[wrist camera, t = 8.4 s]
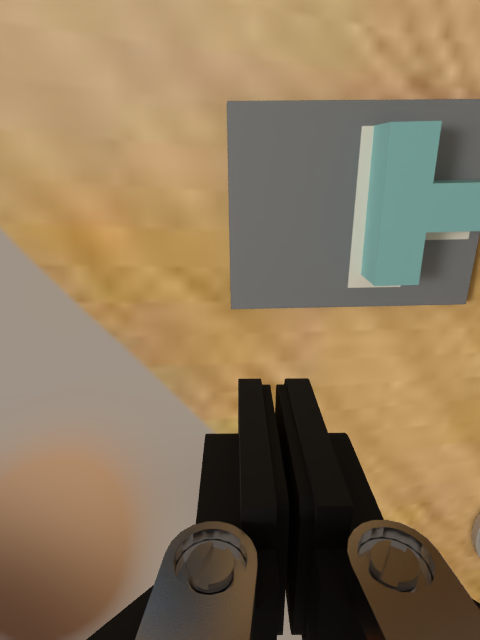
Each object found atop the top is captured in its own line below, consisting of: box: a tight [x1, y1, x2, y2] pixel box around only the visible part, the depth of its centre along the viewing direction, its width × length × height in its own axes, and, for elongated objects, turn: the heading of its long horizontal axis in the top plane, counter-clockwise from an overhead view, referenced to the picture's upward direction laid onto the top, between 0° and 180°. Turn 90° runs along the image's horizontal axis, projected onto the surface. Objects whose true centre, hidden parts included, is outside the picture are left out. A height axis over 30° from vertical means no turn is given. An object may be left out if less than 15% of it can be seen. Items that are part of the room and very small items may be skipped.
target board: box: [227, 99, 480, 309], centre depth 29 cm, size 14×18×1 cm
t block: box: [361, 121, 480, 286], centre depth 28 cm, size 10×8×3 cm
